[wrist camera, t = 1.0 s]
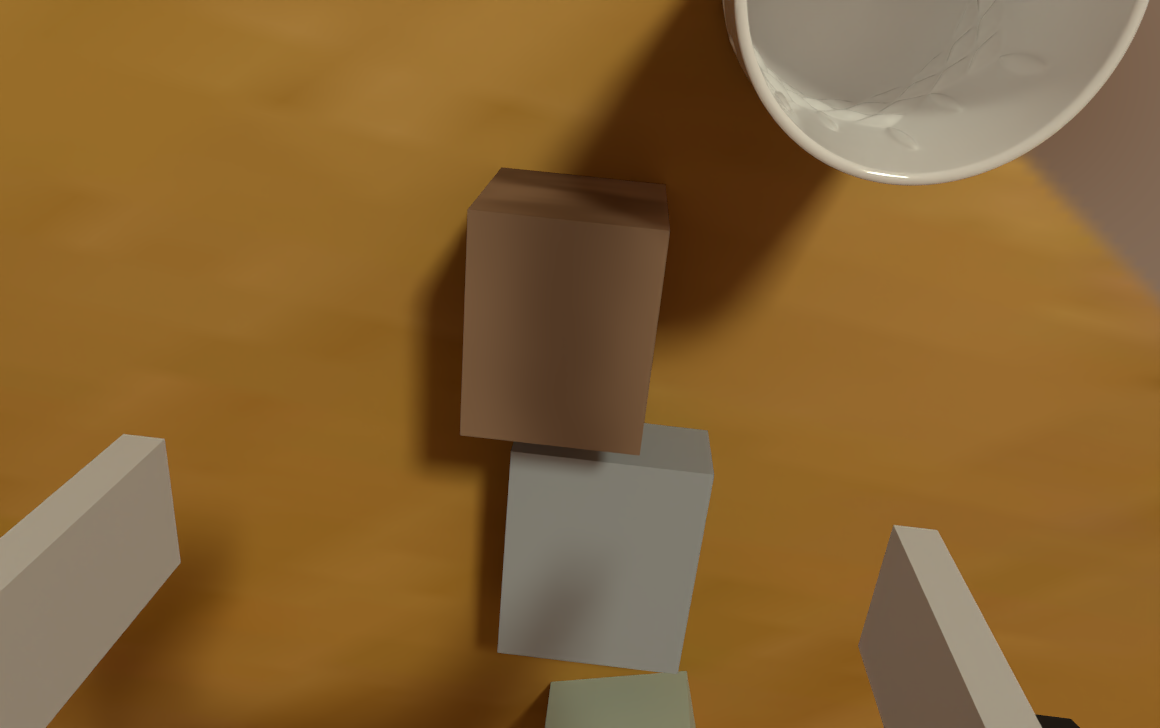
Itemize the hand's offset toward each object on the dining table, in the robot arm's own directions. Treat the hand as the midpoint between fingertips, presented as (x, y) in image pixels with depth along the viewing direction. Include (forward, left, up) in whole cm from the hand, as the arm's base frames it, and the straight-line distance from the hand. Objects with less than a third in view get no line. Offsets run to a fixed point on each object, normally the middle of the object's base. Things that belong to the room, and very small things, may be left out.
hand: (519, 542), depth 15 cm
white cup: (+7, +10, -16) cm, 20 cm away
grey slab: (+2, -10, -16) cm, 19 cm away
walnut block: (0, 0, -16) cm, 16 cm away
